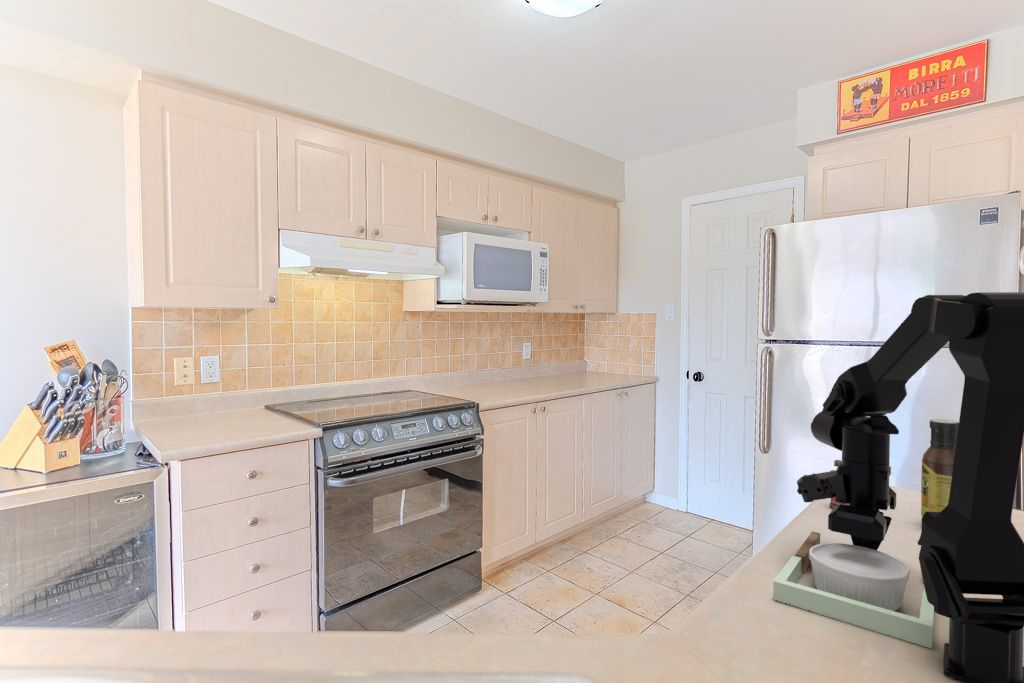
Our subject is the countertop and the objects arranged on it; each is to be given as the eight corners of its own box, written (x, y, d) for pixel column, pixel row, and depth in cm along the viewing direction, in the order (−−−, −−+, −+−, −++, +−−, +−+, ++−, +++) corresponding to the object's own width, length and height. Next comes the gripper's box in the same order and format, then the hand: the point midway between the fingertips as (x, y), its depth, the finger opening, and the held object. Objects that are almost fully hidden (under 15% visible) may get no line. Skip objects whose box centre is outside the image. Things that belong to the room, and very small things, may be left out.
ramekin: (815, 570, 78) (815, 535, 78) (909, 594, 71) (910, 555, 71) (801, 601, 69) (802, 561, 69) (907, 631, 62) (908, 587, 62)
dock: (931, 648, 59) (932, 626, 59) (773, 599, 69) (773, 581, 69) (934, 610, 67) (935, 591, 67) (792, 572, 77) (792, 555, 77)
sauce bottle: (926, 521, 98) (928, 416, 98) (969, 531, 93) (971, 420, 93) (916, 529, 94) (918, 419, 94) (961, 540, 89) (963, 424, 89)
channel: (932, 608, 67) (932, 583, 67) (794, 571, 78) (795, 550, 77) (935, 575, 76) (935, 553, 76) (811, 546, 87) (812, 527, 87)
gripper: (815, 441, 88) (814, 533, 88) (787, 463, 74) (786, 572, 74) (897, 451, 81) (895, 551, 81) (884, 477, 66) (881, 599, 67)
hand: (863, 566), depth 76 cm, fingers closed
